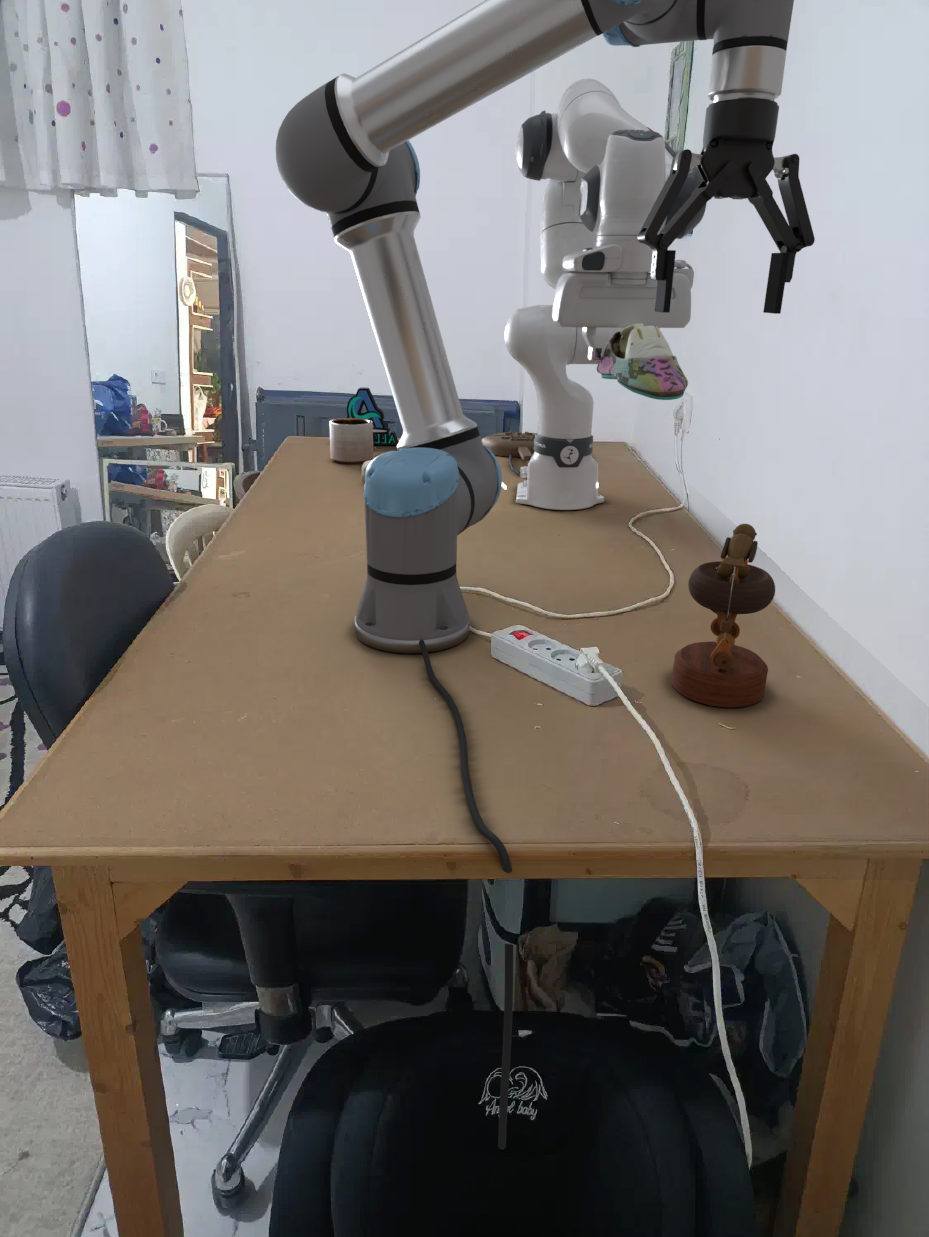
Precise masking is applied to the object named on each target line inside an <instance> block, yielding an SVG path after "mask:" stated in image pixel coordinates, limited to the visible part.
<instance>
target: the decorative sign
mask: <svg viewBox="0 0 929 1237" xmlns="http://www.w3.org/2000/svg"><path fill="white" fill-rule="evenodd" d="M364 407H365V410H366V411H362V410H363V408H364ZM345 418H362V419H368V420H371V421H372V425H373V446H374V445H375V446H377V445H378V446H380V445H381V446H391V445H393V446H397V445H398V443H399V441H400V440H399V439H398V436H397V433H396V432H395V431H394V430H393V431H391V428H390V427H387V425H386V422H385V420H384V419H385V413H384V412H383V410H382V409H381V408H380V407H378V404H377V402H376V400H375V398H374V396H373V393H372V391H371V389H370V387H365V386H363V387H362V386H361V387H359V388H358V389H357V391H356V392H355V394H353V395H352V396H351V397H350V398H349V399H348V401H347V405H346V417H345ZM390 431H391V432H390ZM329 443H330V440H329Z"/></svg>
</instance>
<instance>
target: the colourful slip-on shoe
mask: <svg viewBox="0 0 929 1237" xmlns="http://www.w3.org/2000/svg"><path fill="white" fill-rule="evenodd" d="M596 372H597V373H599V374H600V375H601V379H606V380H617V383H618V384H619V385H620V386H622V387H623V388H625V389H626V390H628V391H630V392H632V393H634V394H636V395H640V396H643V397H646V398H650V399H653V400H660V401H672V400H678V399H681V398H682V397H684V394H685V392H686V389H687V388H688V386H689V380H688V379H687V377H686V375H685V373H684V371H683V369H682V368H681V365H680V364H679V361H678V358H677V356H676V355H674V354H673V352H672V350H671V347H670V345H669V342H668V341H667V340H666V337H665V336H664V334H663V332H662V331H661V328H658V327H657V326H656V328H655V327H654V326H644V325H643V324H633V325H630V326H627V327H625V328H624V329H623V330H621V331H620V332H616V333H615V334H614V335H613V336H612V338H611V339H610V341H609V342H608V343H607V345H606V348H605V350H604V354H603V356H602V358H601V360H600V361H599V363H598V364H596Z"/></svg>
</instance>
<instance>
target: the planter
mask: <svg viewBox="0 0 929 1237" xmlns="http://www.w3.org/2000/svg"><path fill="white" fill-rule="evenodd" d="M328 424H329V425H328V426H329V441H330V442H329V453H330V454H329V455H330V456H329V457H330V459H331V460H332V461H333V462H335V463H341V464H363V463H364V462H366V461H369V460H371V461H372V460H373V459H374V458H375V457H374V456H375V455H374V452H375V451H374V450H375V449H374V445H373V426H374V425H373V423H372V421H371V420H368V419H362V418H346V417H342V418H341V417H340V418H335V419H334V418H333V419H331V420H329V421H328Z"/></svg>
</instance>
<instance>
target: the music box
mask: <svg viewBox="0 0 929 1237" xmlns="http://www.w3.org/2000/svg"><path fill="white" fill-rule="evenodd" d="M757 535H758V534H757V532H756V529H755V528H754V526H752V525H751V524H749V523H740V524H739V525H737V526H736V527H735V528H734V529H733V530H732V536H731V537H730V536H727V537H726V538H725V541H724V543H723V547H722V550H721V553H720V559H722V560H720V561H719V560H718V561H717V560H716V561H709V562H705V563H702V564H700V565H698V566H697V567H695V569H694V570H692V572H691V574H690V576H689V578H688V583H687V585H688V591H689V594H690V596H691V598H692V599H693V600H694V601H695V602H696V603H697V604H698V605H700V606H702V607H703V608H705V609H708V610H709V611H711V612H712V613H714V614H715V615H716V616H717V617H716V618H714V619H713V620H712V621H711V622H710V631H711V633H712V634H713V635H714V636H716V639H715V641H699V642H693V643H689V644H687V645H685V646H684V647H682V648H681V649H679V650H677V651H676V653H674V659H673V665H672V674H671V684H672V687H673V688H674V689H675V691H677V692H678V693H679V694H680V695H682V696H683V697H685V698H687V699H689V700H692V701H694V702H696V703H700V704H703V705H706V706H707V705H708V706H713V707H719V708H720V707H721V708H743V707H748V706H752V705H755V704H757V703H759V702H760V701H761V700H762V699H763V698H764V695H765V690H766V685H767V678H768V672H769V667H768V664H767V663H766V661H764V659H763V658H761V656H760V655H759V654H757V653H756V652H755V651H752V650H750V649H748V648H746V647H743V646H741V645H738V644H737V645H736V644H735V643H736V639H737V638H739V635H740V633H741V629H740V626H739V624H738V623H737V622H736V619H737V617H738V616H737V615H748V614H756V613H758V612H760V611H762V610H764V609H766V608H767V607H768V606H769V605H770V604H771V603H772V601H773V600H774V597H775V595H776V584H775V580H774V579H773V577H772V576H771V575H770V573H769V572H768V571H766V570H764V568H763V569H762V568H761V567H758V566H755V565H752V563H753V562H754V560H755V557H756V554H757V550H758V540H755V539H756V537H757ZM749 563H750V564H749Z"/></svg>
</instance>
